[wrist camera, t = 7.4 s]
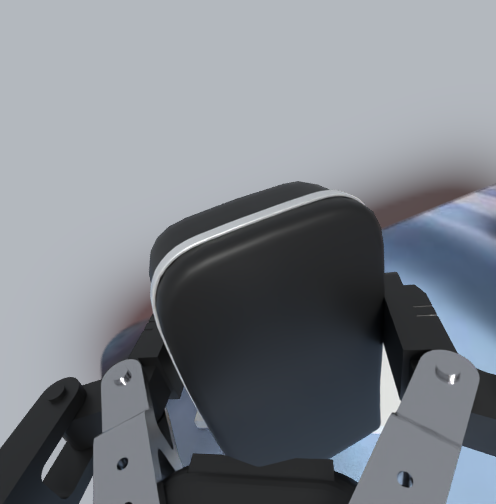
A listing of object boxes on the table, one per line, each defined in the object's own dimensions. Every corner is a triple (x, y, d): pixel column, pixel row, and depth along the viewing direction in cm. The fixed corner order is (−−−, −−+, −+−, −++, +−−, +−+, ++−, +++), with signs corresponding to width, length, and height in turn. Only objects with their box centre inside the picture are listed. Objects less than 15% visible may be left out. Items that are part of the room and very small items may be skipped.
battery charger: (336, 366, 17) (314, 158, 11) (388, 428, 14) (394, 180, 8) (217, 428, 15) (122, 223, 10) (244, 514, 12) (125, 282, 6)
